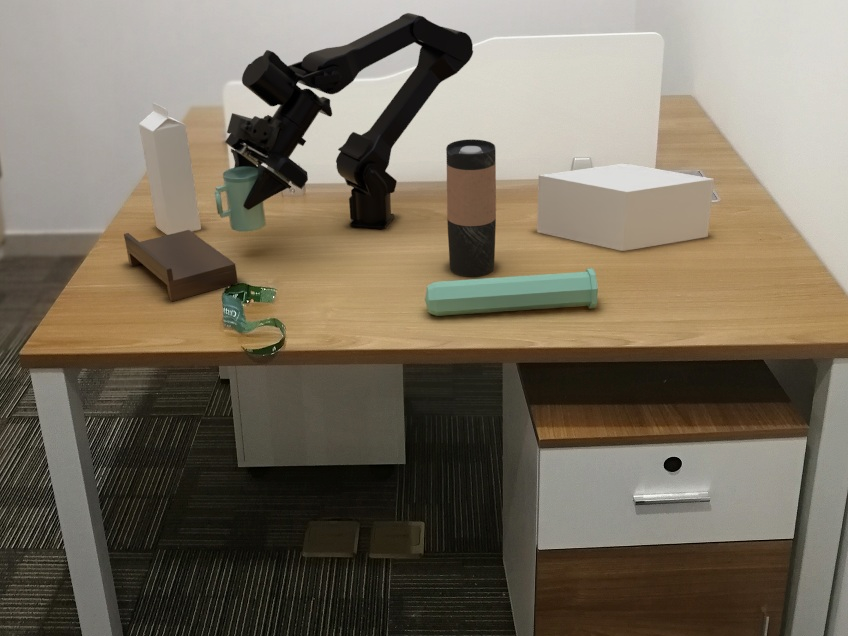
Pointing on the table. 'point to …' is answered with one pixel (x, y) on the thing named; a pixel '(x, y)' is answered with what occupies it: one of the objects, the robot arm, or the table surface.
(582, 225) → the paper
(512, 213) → the table surface
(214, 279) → the shelf
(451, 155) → the travel mug
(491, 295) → the container
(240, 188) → the green mug
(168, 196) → the milk
